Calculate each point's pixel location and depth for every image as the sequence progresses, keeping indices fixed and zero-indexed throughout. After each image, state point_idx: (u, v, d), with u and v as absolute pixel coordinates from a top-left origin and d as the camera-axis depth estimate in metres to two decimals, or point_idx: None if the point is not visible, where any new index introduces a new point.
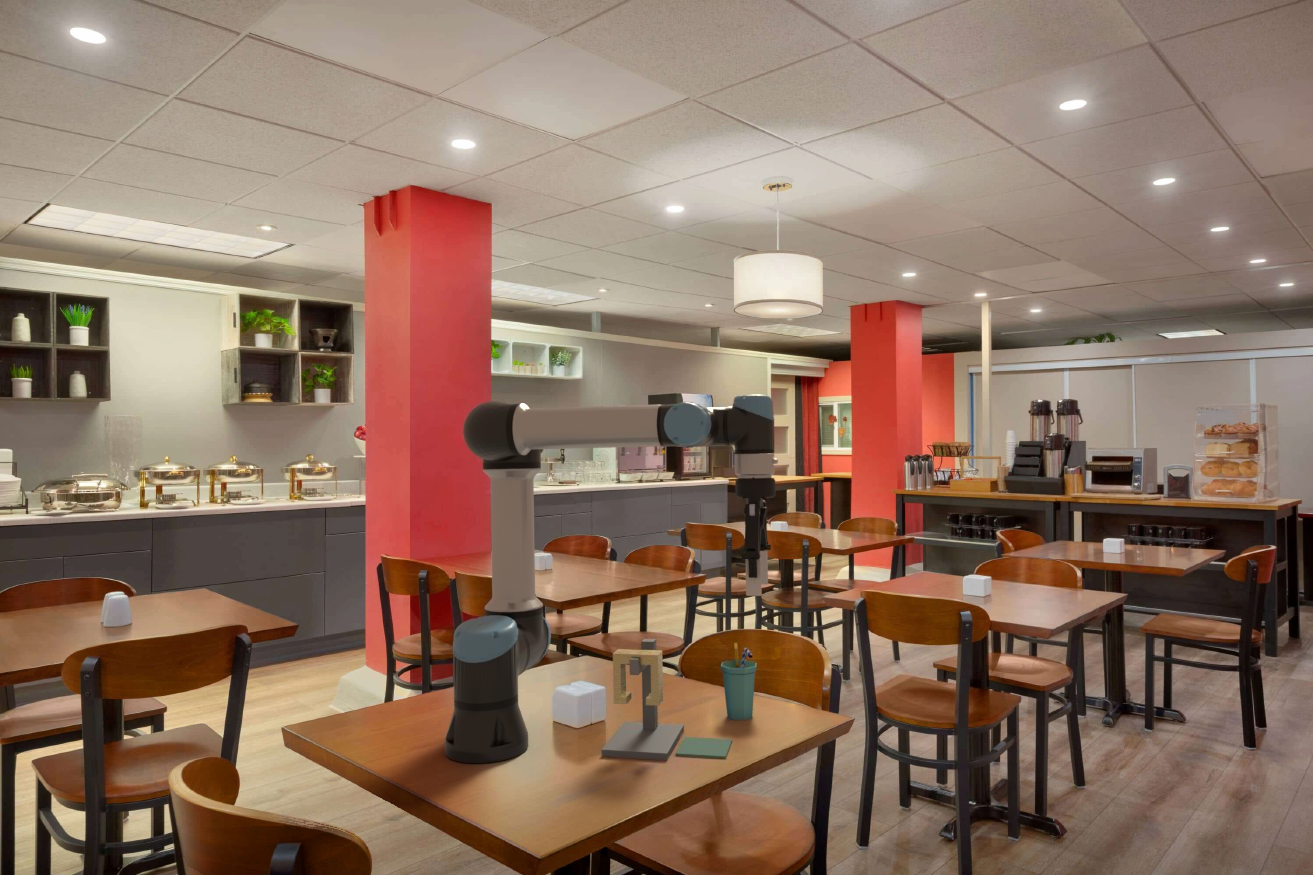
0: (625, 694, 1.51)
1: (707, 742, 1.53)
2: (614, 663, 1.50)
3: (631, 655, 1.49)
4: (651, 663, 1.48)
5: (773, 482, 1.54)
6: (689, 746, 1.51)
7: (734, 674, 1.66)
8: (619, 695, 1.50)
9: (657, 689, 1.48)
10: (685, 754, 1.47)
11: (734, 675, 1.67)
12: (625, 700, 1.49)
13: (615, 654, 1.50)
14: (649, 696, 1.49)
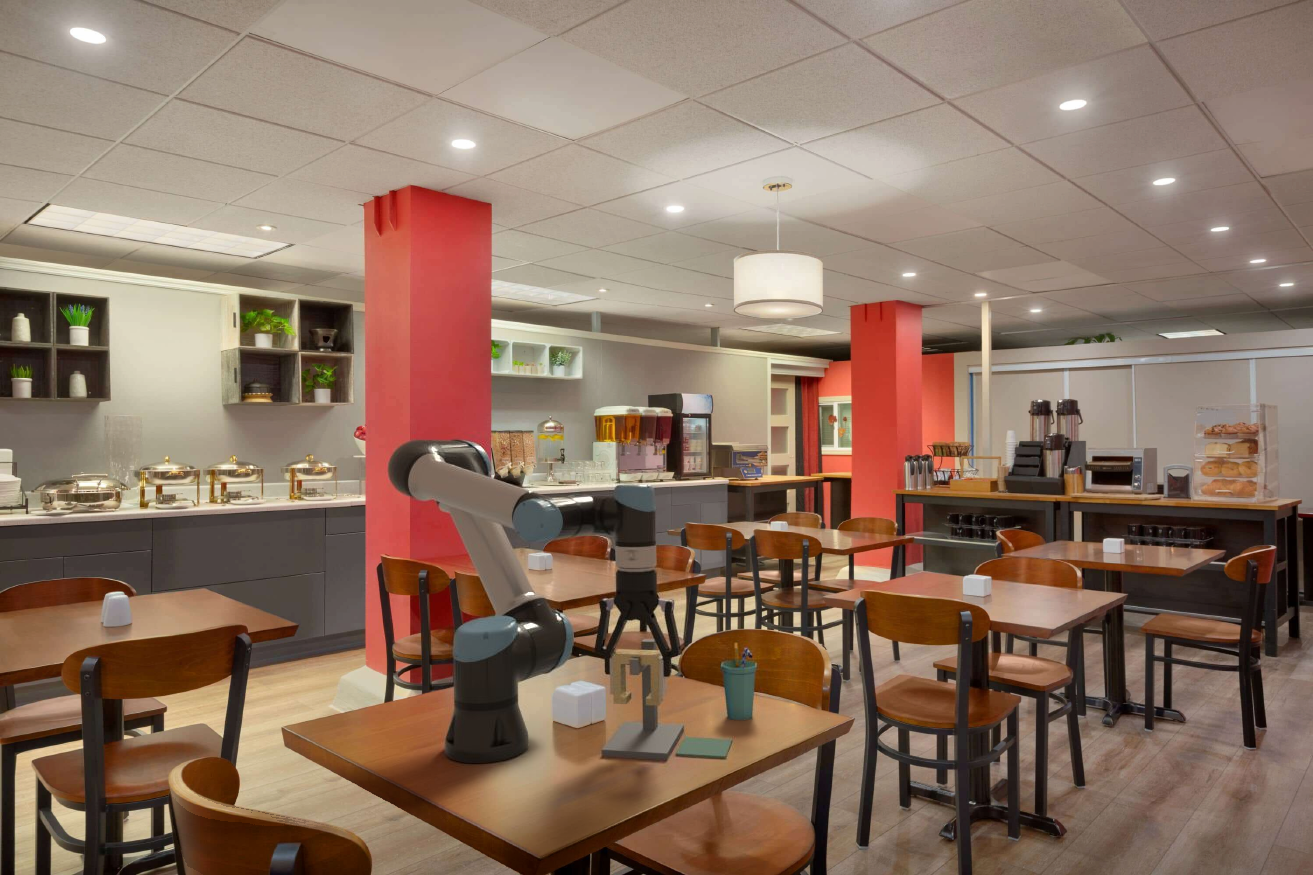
0: (625, 694, 1.51)
1: (707, 742, 1.53)
2: (614, 663, 1.50)
3: (631, 655, 1.49)
4: (651, 663, 1.48)
5: (624, 577, 1.48)
6: (689, 746, 1.51)
7: (734, 674, 1.66)
8: (619, 695, 1.50)
9: (657, 689, 1.48)
10: (685, 754, 1.47)
11: (734, 675, 1.67)
12: (625, 700, 1.49)
13: (615, 654, 1.50)
14: (649, 696, 1.49)
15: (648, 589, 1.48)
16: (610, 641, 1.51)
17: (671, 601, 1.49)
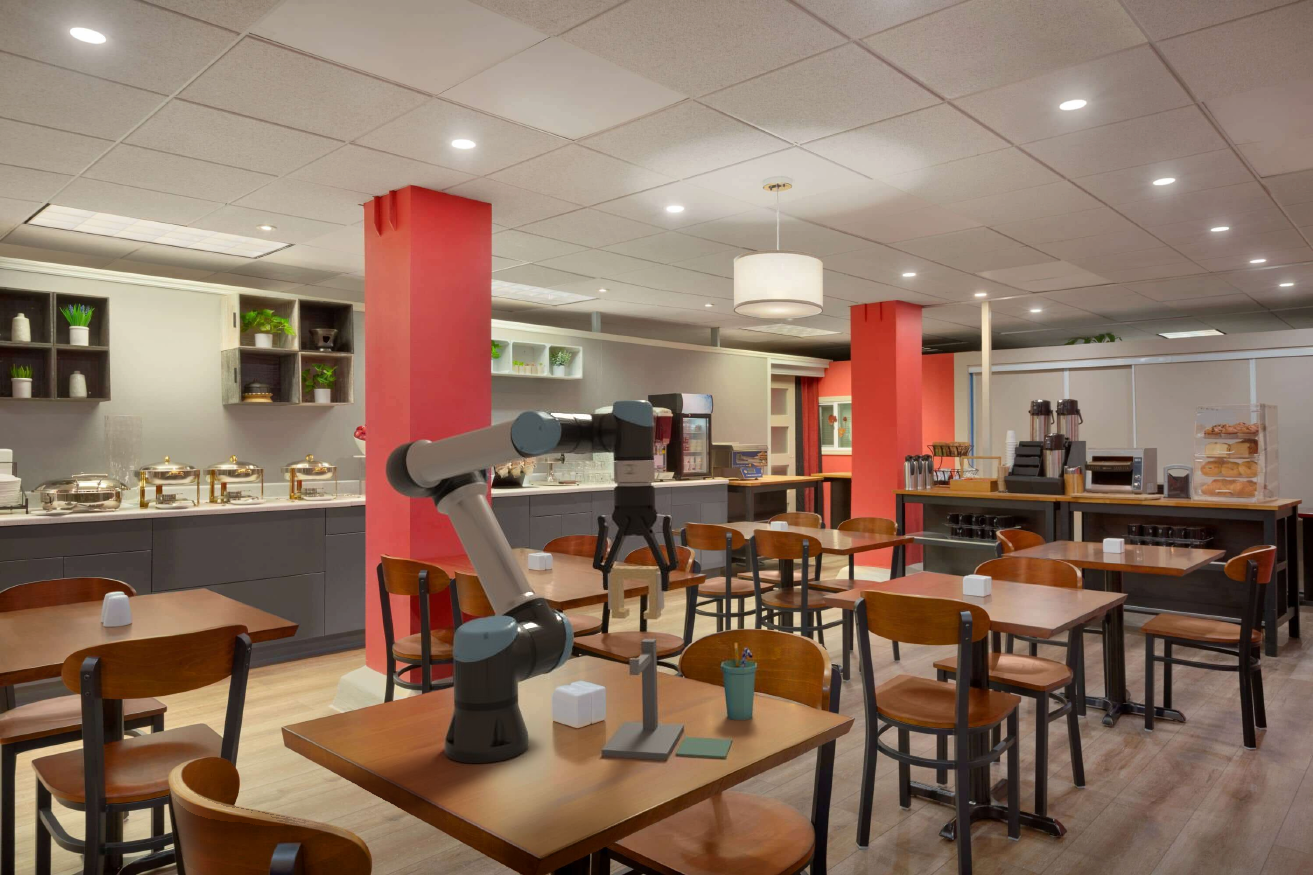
0: (623, 610, 1.52)
1: (707, 742, 1.53)
2: (612, 578, 1.50)
3: (629, 570, 1.50)
4: (649, 577, 1.49)
5: (622, 491, 1.49)
6: (689, 746, 1.51)
7: (734, 674, 1.66)
8: (617, 610, 1.50)
9: (655, 603, 1.49)
10: (685, 754, 1.47)
11: (734, 675, 1.67)
12: (623, 615, 1.50)
13: (613, 569, 1.50)
14: (646, 611, 1.50)
15: (646, 503, 1.49)
16: (608, 556, 1.51)
17: (669, 516, 1.50)
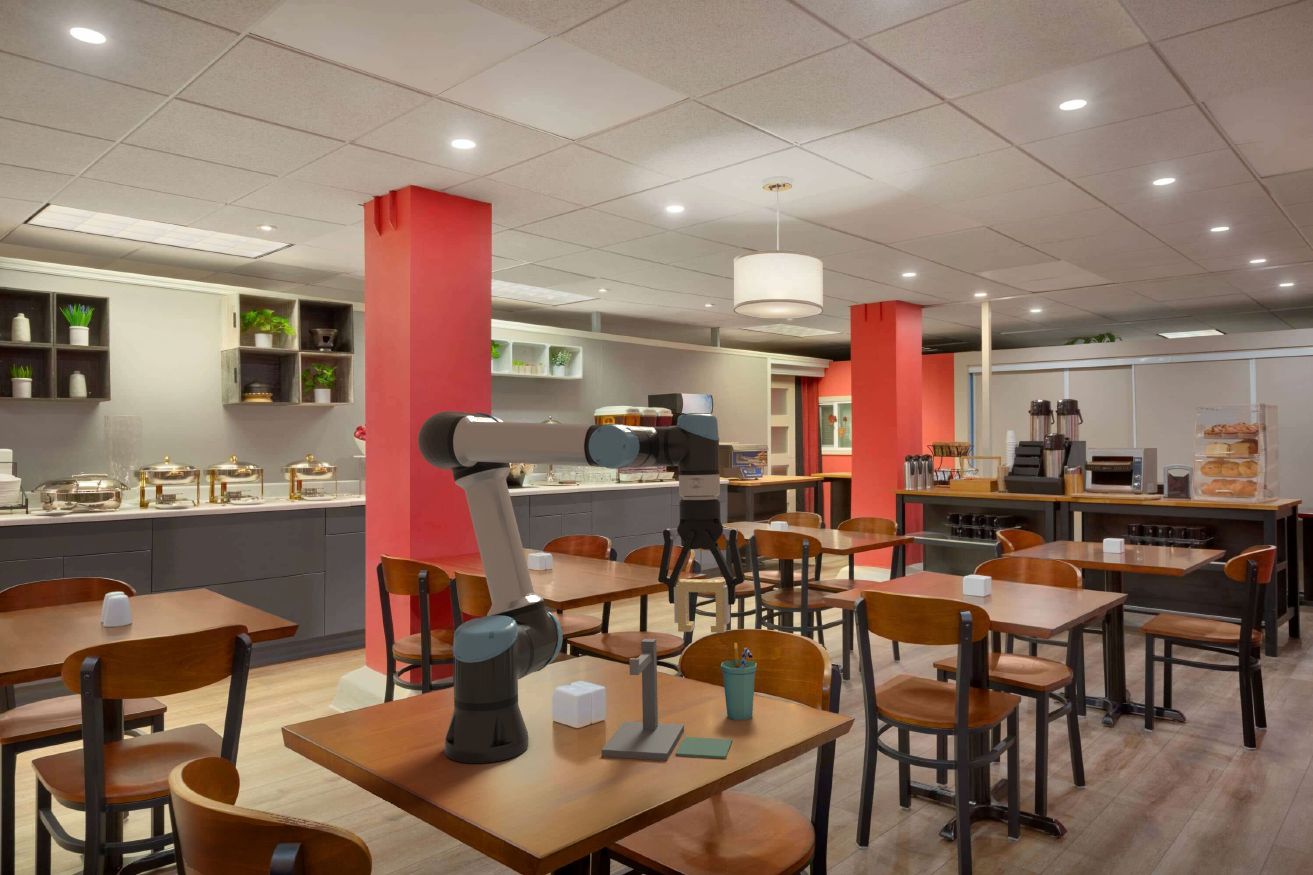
0: (689, 623, 1.52)
1: (707, 742, 1.53)
2: (678, 591, 1.51)
3: (696, 583, 1.50)
4: (716, 590, 1.49)
5: (689, 505, 1.49)
6: (689, 746, 1.51)
7: (734, 674, 1.66)
8: (684, 623, 1.50)
9: (722, 616, 1.49)
10: (685, 754, 1.47)
11: (734, 675, 1.67)
12: (690, 628, 1.50)
13: (679, 582, 1.51)
14: (713, 624, 1.50)
15: (713, 517, 1.49)
16: (674, 570, 1.52)
17: (735, 529, 1.50)
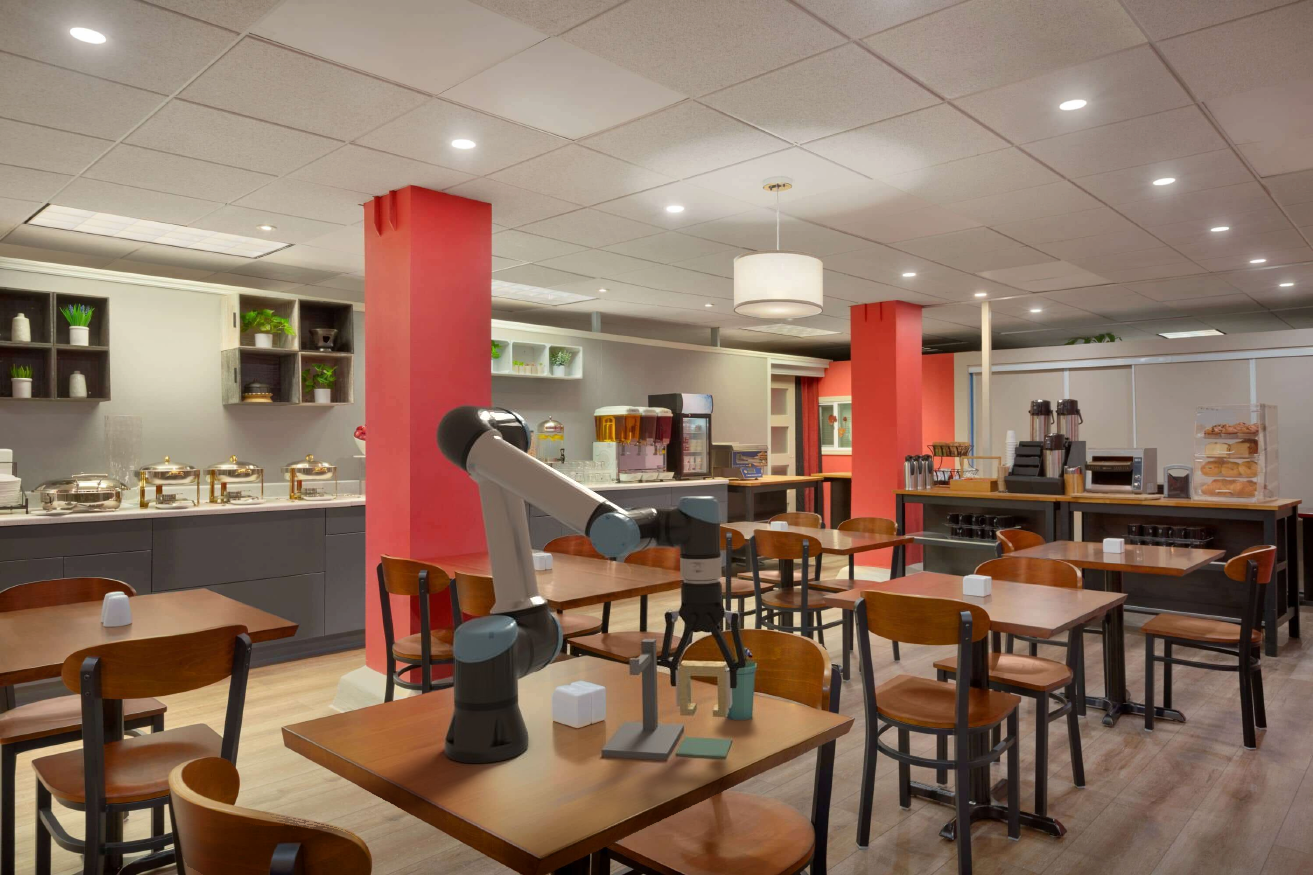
0: (691, 706, 1.52)
1: (707, 742, 1.53)
2: (680, 675, 1.50)
3: (697, 667, 1.50)
4: (718, 675, 1.49)
5: (691, 589, 1.49)
6: (689, 746, 1.51)
7: None
8: (686, 707, 1.50)
9: (724, 701, 1.48)
10: (685, 754, 1.47)
11: None
12: (692, 712, 1.50)
13: (681, 666, 1.50)
14: (715, 708, 1.50)
15: (714, 601, 1.49)
16: (676, 653, 1.51)
17: (737, 613, 1.50)
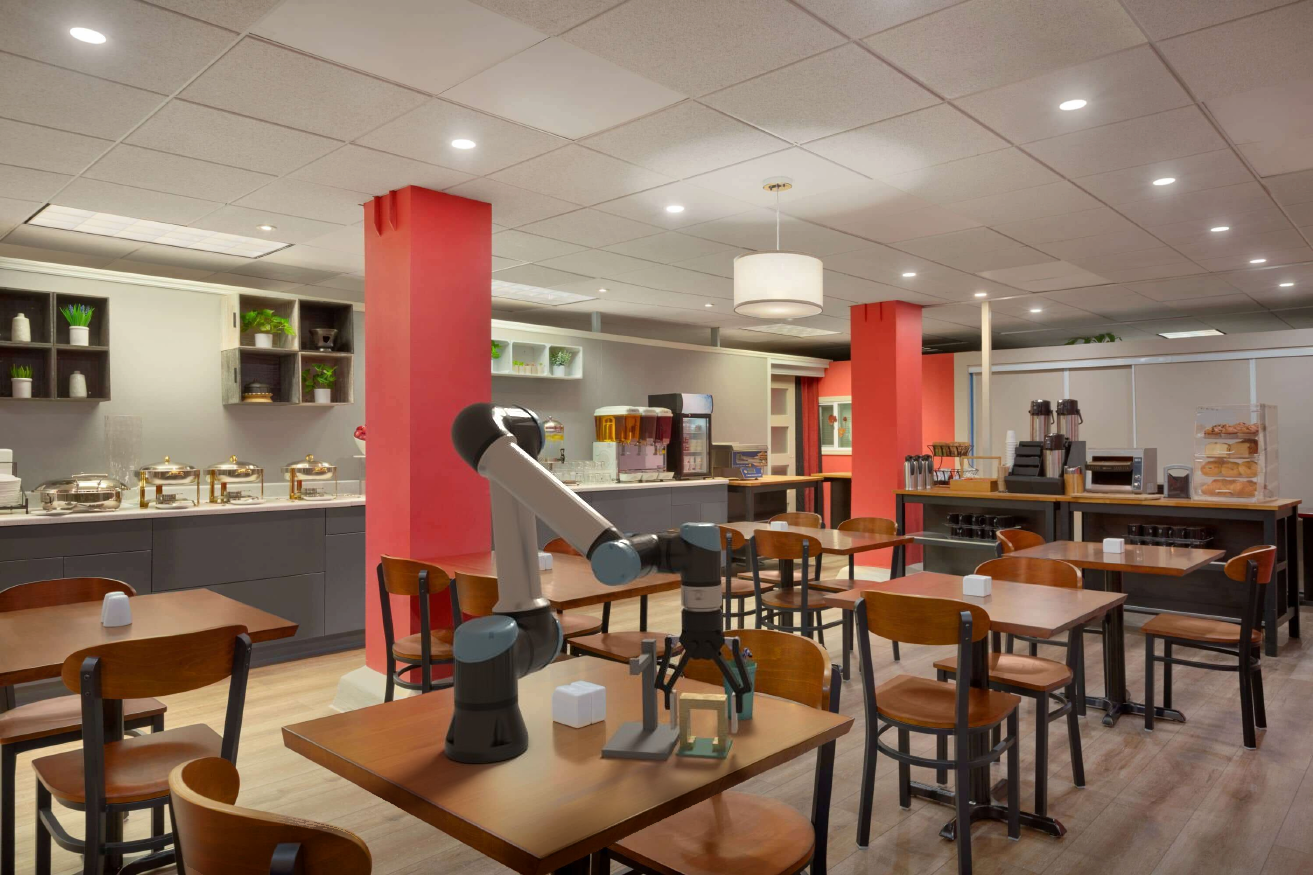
0: (690, 738, 1.51)
1: (707, 742, 1.53)
2: (680, 708, 1.50)
3: (697, 700, 1.49)
4: (718, 708, 1.49)
5: (691, 616, 1.48)
6: None
7: None
8: (685, 740, 1.50)
9: (724, 734, 1.48)
10: (685, 754, 1.47)
11: None
12: (691, 745, 1.50)
13: (681, 699, 1.50)
14: (715, 741, 1.50)
15: (715, 629, 1.49)
16: (672, 677, 1.51)
17: (737, 638, 1.50)
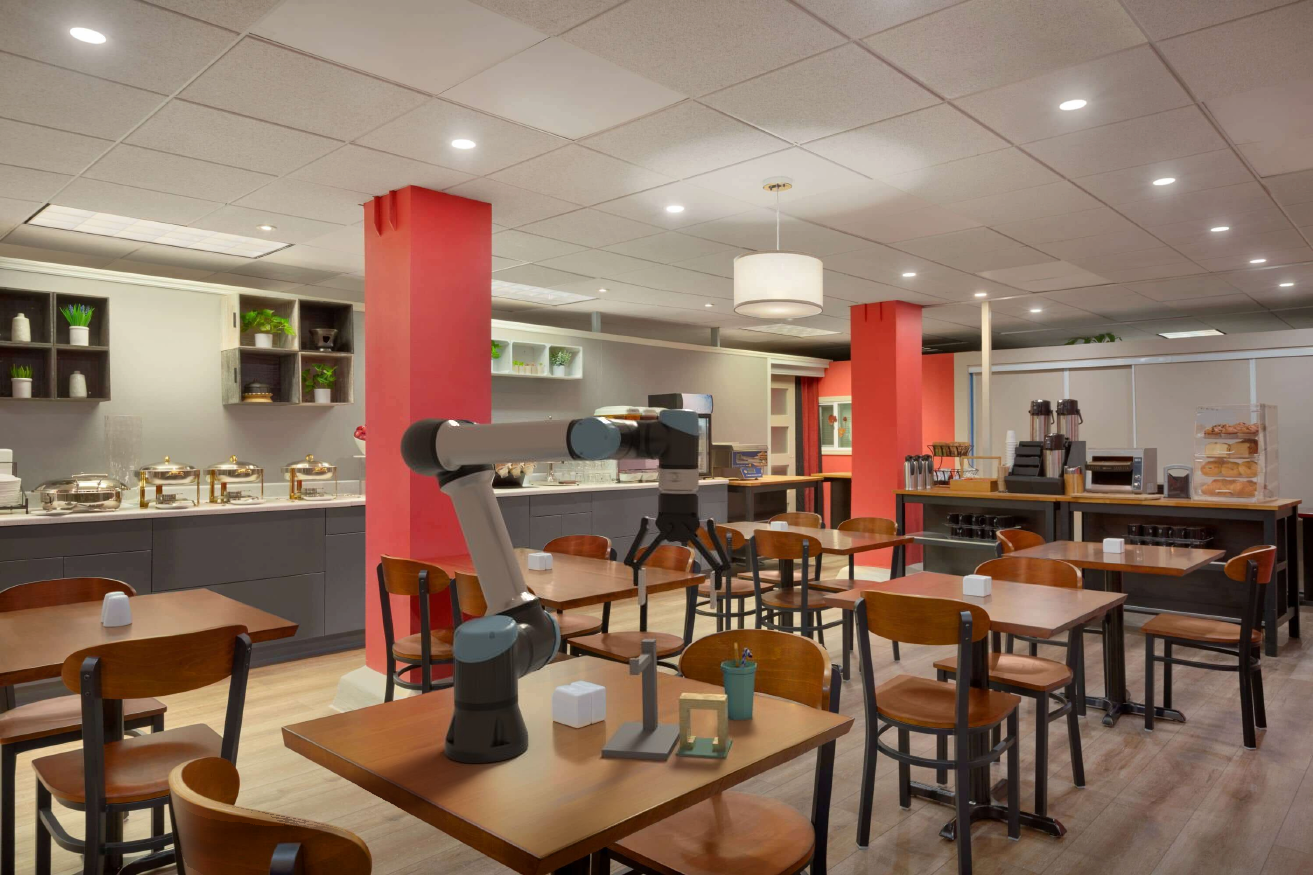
0: (690, 738, 1.51)
1: (707, 742, 1.53)
2: (680, 708, 1.50)
3: (697, 700, 1.49)
4: (718, 708, 1.49)
5: (667, 498, 1.51)
6: None
7: (734, 674, 1.66)
8: (685, 740, 1.50)
9: (724, 734, 1.48)
10: (685, 754, 1.47)
11: (734, 675, 1.67)
12: (691, 745, 1.50)
13: (681, 699, 1.50)
14: (715, 741, 1.50)
15: (690, 511, 1.51)
16: (642, 555, 1.55)
17: (711, 519, 1.53)
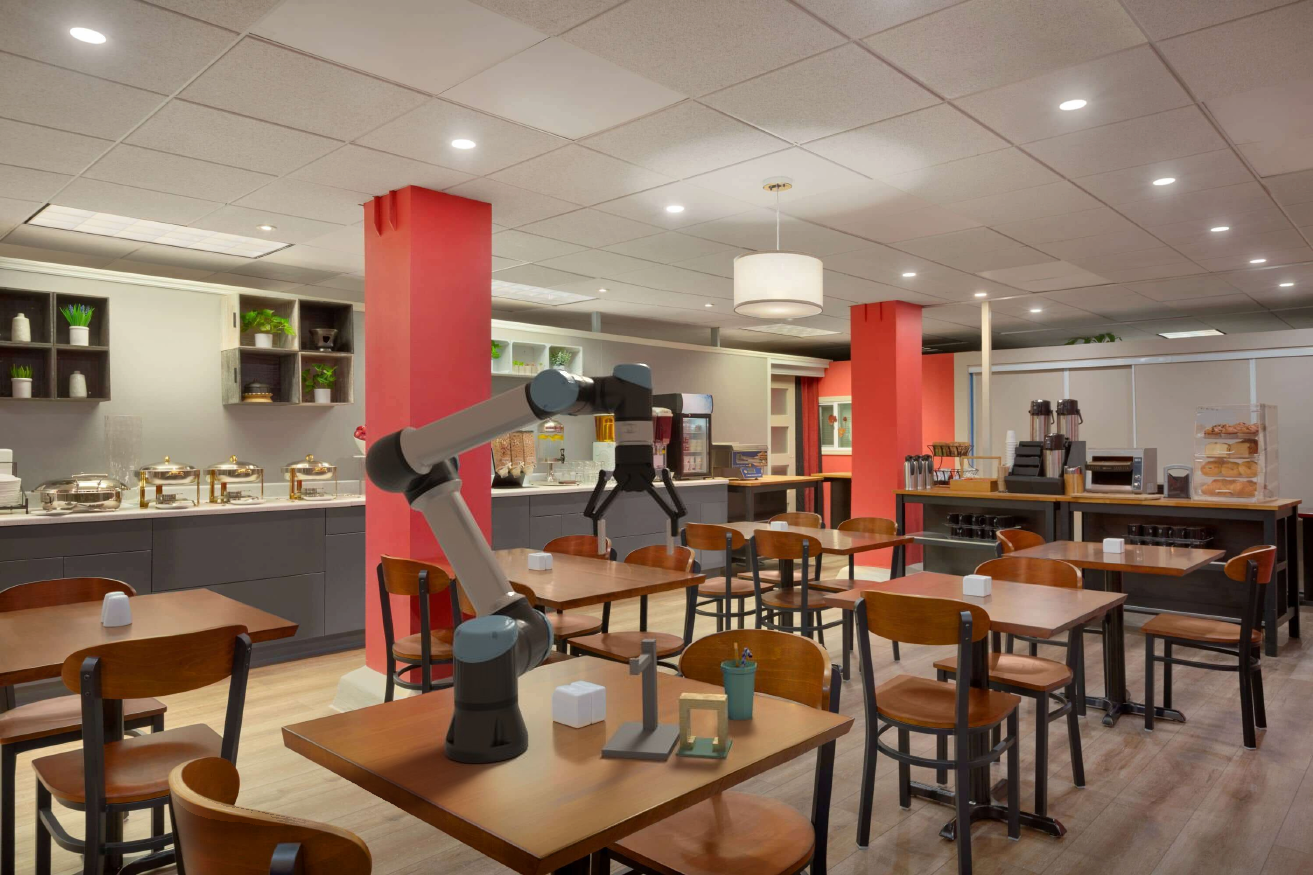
0: (690, 738, 1.51)
1: (707, 742, 1.53)
2: (680, 708, 1.50)
3: (697, 700, 1.49)
4: (718, 708, 1.49)
5: (623, 449, 1.57)
6: None
7: (734, 674, 1.66)
8: (685, 740, 1.50)
9: (724, 734, 1.48)
10: (685, 754, 1.47)
11: (734, 675, 1.67)
12: (691, 745, 1.50)
13: (681, 699, 1.50)
14: (715, 741, 1.50)
15: (645, 461, 1.57)
16: (601, 506, 1.60)
17: (666, 468, 1.58)
